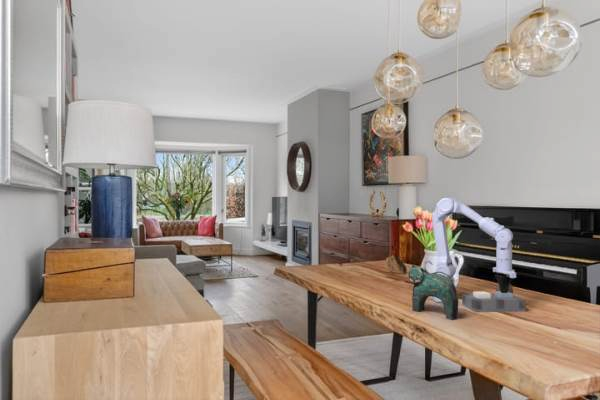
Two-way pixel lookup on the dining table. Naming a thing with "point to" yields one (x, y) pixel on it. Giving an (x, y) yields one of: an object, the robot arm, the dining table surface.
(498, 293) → the slate key
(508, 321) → the dining table surface
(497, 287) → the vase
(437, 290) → the ceramic cat
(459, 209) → the robot arm
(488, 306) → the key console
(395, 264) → the decorative rock
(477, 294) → the white block
